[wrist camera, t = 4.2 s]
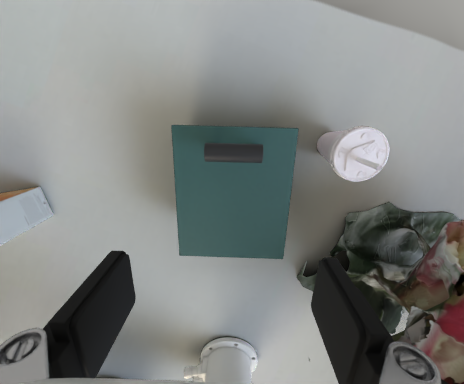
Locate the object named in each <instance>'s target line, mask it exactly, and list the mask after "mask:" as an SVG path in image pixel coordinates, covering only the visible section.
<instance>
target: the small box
mask: <svg viewBox="0 0 464 384" xmlns="http://www.w3.org/2000/svg"><path fill="white" fill-rule="evenodd" d="M53 215H54V214H53V212H52V210H51V208H50V206H49V204H48V202H47V200H46V198H45V196H44V193H43V191H42V189H41V187H34V188H29V189H23V190H17V191H11V192H5V193H0V246H1V245H2V244H4V243H6V242H8V241H9V240H11V239H13V238H15V237H16V236H18V235H20V234H22V233H24V232H25V231H27V230H29V229H31V228H33V227H34V226H36V225H38V224H39V223H41V222H43V221H45V220H46V219H48V218H50V217H52V216H53Z"/></svg>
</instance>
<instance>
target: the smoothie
mask: <svg viewBox="0 0 464 384" xmlns="http://www.w3.org/2000/svg"><path fill="white" fill-rule="evenodd" d="M317 149H318V151H319V153H320V154H321V155H322V156H323V157H324V158H325V159H326V160H327V161H328V162H329V163H330V164H331V166H332V169H333V170H334V171H335V173H336V174H337V175H339V176H340V177H341V178H344V179H346V180H349V181H353V182H359V181H364V180H367V179H370V178H372V177H373V176H375V175H376V174H378V173H379V172H380V171H381V170H382V168H383V167H384V166H385V164H386V162H387V160H388V157H389V143H388V140H387V138H386V136H385V135H384V134H383V133H382V132H381V131H379V130H377V129H375V128H371V127H368V126H358V127H353V128H351V129H349V130H344V131H334V132H327V133H325V134H323V135H322V136H321V137H320V138H319V140H318V142H317Z"/></svg>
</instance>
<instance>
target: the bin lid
mask: <svg viewBox="0 0 464 384" xmlns="http://www.w3.org/2000/svg"><path fill="white" fill-rule="evenodd" d="M297 137H298V128H274V127H236V126H199V125H172V142H173V158H174V174H175V191H176V207H177V223H178V239H179V255H180V256H209V257H239V258H269V259H283V256H284V248H285V239H286V231H287V222H288V214H289V205H290V197H291V188H292V180H293V171H294V163H295V154H296V146H297Z"/></svg>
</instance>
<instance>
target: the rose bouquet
mask: <svg viewBox="0 0 464 384" xmlns="http://www.w3.org/2000/svg"><path fill="white" fill-rule="evenodd" d="M345 220H346V226H345V230H344V234H343V235H342V236H341V238H340V240H339V242H338V244H337V246H336V247H335V248H334V249H333V250H332V251H331V252H330V254H331V256H335V255H336V254H338V253H339V252H340V251H342V250H346V251H347V256H348V259H349V260H350V266H349V268H348V271H347V272H346V273H347V275H348V276H349V278H350V279H351V281H352V282H353V284H354V285H355V287H357V288H358V289H359V290H360V291H361V292H362V294H363V295H364V297H365V298H366V299H367V301H368V302H369V304H370V305H371V307H372V308H373V310H374V311H375V313H376V314H377V316H378V317H379V319H380V320H381V322H382V323H383V325H384V326H385V328H386V329H387V331H388V332H389V333H391V334H393V333H395V332H396V331H395V330H396V329H395V328H396V327H397V325H398V324H399V321H400V318H401V316H402V314H403V313H404V312H405V310H407V311H408V312H409V316H408V318H407V320H408V321H407V323H406V328H405V330H404V331H402V332H400V333H398V334H395V335H393V336H391V337H392V338H393V340H394V341H395V342H405V343H408V344H410V345H413V346H415V347H417V348H418V349H420V350H421V351H423V352H424V353H425V354H426V355H427V356H429V357H430V358H431V359H432V361H433V362H434V363H435V364H436V366H437V368H438V369H439V371H440V375H441V379H442V380H444V381H446V382H447V383H449V384H464V220H460V219H459V218H457V217H456V216H454V214H451V213H446V212H440V213H411V212H408V211H404V210H400V209H398V208H396V207H395V206H394V205H393V204H391V203H390V202H388V203H387V204H386V203H385V204H384V205H381V206H380V205H379V206H378V207H375V208H373V209H371V210H368V211H364V212H363V211H362V212H355V213H348V216H347V217H346V218H345ZM306 263H307V261H306ZM306 263H305V265H304V267H303V268H302V270H301V272H300V274H299V275H298V276H297V278H298V280H299V281H300V282H301V284H302V286H303V287H305V288H307V289H309V290H311V291H314V286H315V280H316V275H317V274H316V275H312V276H309V277H305V276H303V273H304V270H305V266H306ZM309 361H310V359H309Z"/></svg>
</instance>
